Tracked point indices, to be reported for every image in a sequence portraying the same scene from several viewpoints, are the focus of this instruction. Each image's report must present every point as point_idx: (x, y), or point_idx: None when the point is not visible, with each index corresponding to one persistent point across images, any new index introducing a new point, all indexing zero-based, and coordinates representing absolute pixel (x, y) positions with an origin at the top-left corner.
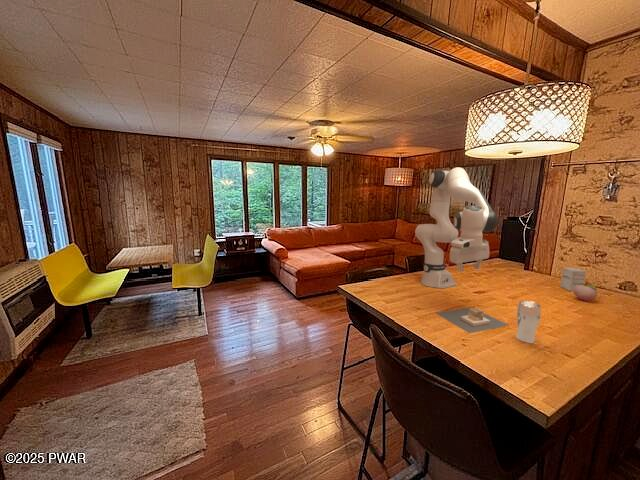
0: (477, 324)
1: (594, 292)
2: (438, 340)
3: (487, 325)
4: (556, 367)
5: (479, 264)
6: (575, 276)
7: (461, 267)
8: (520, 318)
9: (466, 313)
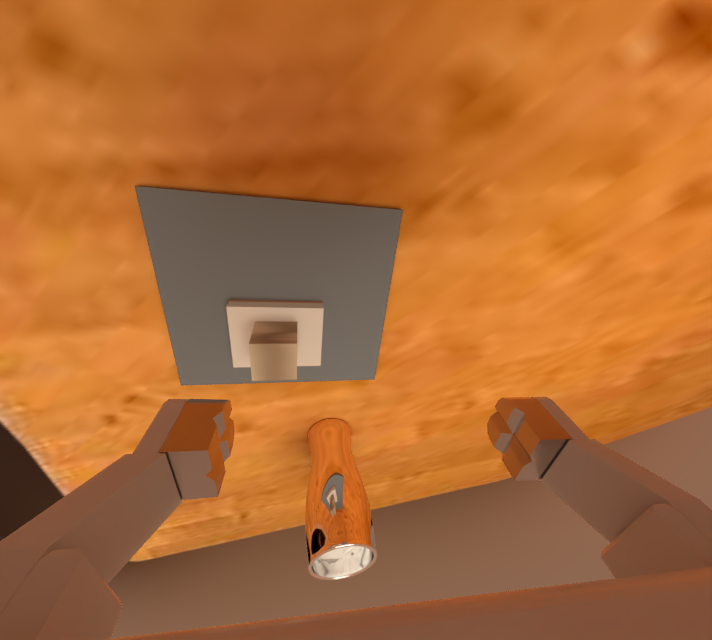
0: None
1: None
2: (17, 384)
3: None
4: (277, 503)
5: (560, 494)
6: None
7: (142, 521)
8: (306, 504)
9: (312, 260)
